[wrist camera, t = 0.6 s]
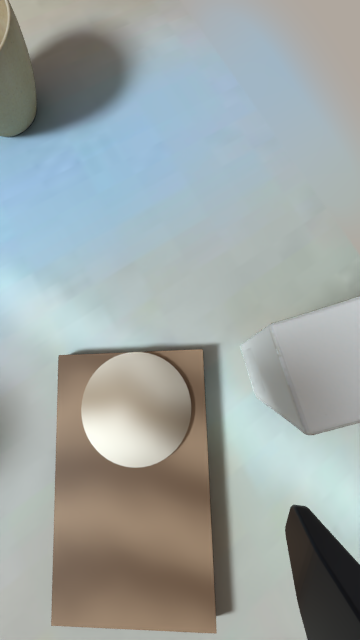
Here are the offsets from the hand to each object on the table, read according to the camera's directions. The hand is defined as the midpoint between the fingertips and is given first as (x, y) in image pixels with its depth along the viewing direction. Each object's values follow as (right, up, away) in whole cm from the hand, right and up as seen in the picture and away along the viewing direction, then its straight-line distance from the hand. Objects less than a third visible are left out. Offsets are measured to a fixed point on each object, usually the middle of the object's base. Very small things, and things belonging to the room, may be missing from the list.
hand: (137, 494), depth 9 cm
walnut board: (-2, -6, +13) cm, 14 cm away
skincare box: (+9, +2, +13) cm, 16 cm away
